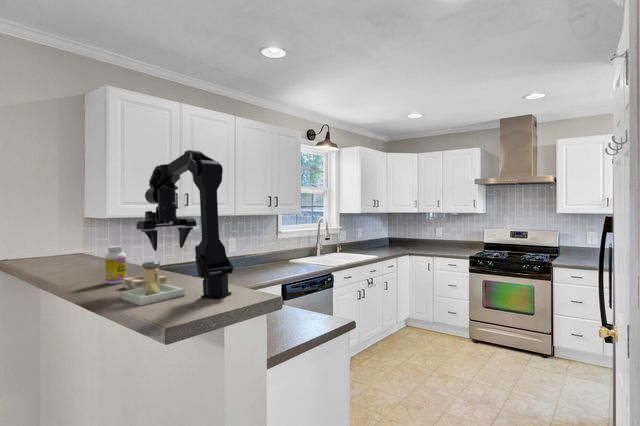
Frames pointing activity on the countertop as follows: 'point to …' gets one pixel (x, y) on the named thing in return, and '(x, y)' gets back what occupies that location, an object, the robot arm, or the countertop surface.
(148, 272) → the spice jar
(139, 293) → the tray
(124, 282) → the wooden square frame
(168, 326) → the countertop surface
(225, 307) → the countertop surface
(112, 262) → the supplement bottle
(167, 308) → the countertop surface
